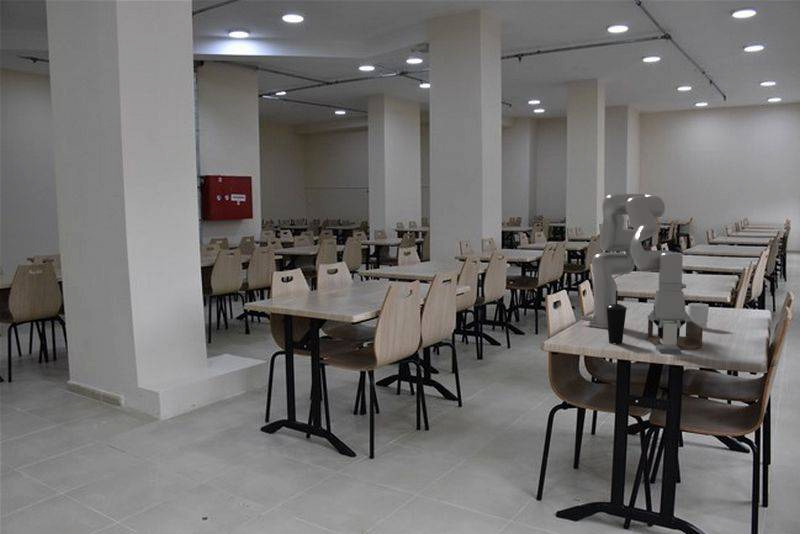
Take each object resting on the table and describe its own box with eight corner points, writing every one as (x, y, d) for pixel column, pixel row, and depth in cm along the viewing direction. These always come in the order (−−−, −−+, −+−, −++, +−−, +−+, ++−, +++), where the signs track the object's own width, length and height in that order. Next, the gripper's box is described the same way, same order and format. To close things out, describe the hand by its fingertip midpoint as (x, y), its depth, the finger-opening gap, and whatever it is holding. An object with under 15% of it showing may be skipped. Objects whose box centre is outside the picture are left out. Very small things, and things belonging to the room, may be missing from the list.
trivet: (659, 352, 234) (659, 348, 234) (655, 349, 240) (656, 345, 240) (680, 353, 233) (680, 349, 233) (676, 349, 239) (676, 345, 239)
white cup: (710, 330, 275) (710, 306, 274) (689, 329, 277) (690, 305, 276) (705, 326, 283) (706, 303, 282) (685, 326, 285) (686, 302, 284)
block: (663, 344, 234) (663, 323, 233) (660, 341, 239) (660, 321, 238) (676, 344, 233) (677, 323, 233) (673, 342, 238) (674, 321, 237)
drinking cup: (609, 339, 257) (610, 288, 255) (629, 342, 252) (630, 290, 250) (601, 343, 251) (602, 290, 249) (621, 345, 246) (622, 292, 244)
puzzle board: (658, 348, 241) (658, 326, 240) (647, 338, 258) (648, 318, 258) (701, 349, 238) (702, 327, 238) (688, 339, 256) (688, 319, 255)
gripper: (692, 286, 237) (690, 336, 238) (643, 285, 239) (641, 335, 241) (698, 289, 229) (696, 341, 231) (647, 288, 232) (645, 339, 234)
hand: (668, 337), depth 236 cm, fingers closed on block, 4 cm apart
